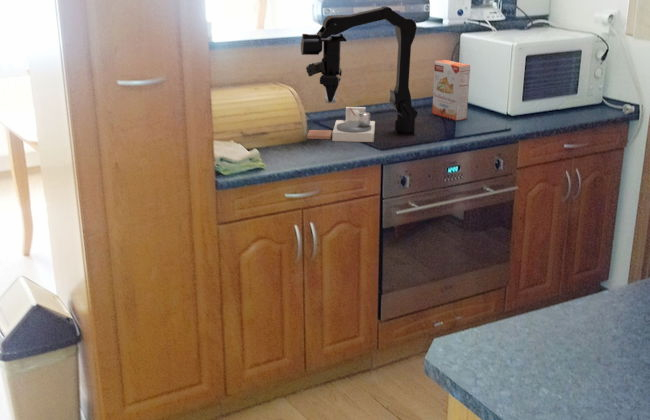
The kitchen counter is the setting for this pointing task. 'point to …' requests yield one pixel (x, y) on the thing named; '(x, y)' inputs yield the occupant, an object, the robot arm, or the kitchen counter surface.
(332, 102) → the cylinder
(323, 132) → the rubber mat
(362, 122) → the cylinder
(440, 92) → the cracker box
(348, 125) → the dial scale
